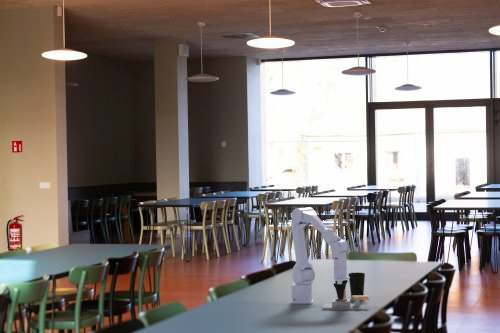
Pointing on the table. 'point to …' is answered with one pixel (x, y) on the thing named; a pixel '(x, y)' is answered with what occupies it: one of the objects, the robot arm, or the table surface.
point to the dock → (342, 305)
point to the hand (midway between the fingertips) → (341, 297)
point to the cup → (357, 284)
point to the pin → (360, 297)
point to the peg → (344, 296)
